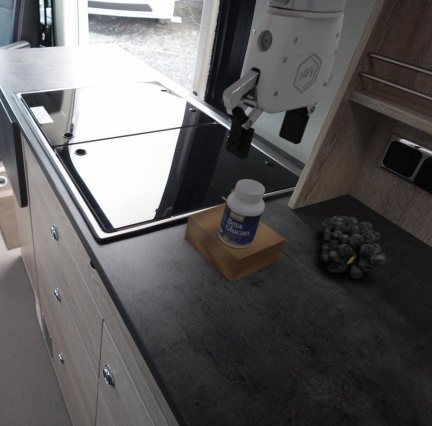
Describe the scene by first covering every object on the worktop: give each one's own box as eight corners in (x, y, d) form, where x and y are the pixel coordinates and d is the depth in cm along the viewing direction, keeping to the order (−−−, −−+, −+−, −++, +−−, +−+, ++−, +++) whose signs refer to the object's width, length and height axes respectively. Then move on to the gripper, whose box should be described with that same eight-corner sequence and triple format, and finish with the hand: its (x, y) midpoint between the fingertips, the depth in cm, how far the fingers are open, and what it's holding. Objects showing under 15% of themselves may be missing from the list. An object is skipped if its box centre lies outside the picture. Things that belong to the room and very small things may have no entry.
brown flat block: (291, 255, 63) (301, 232, 60) (231, 282, 58) (239, 258, 55) (234, 212, 73) (240, 190, 70) (178, 232, 67) (182, 209, 64)
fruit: (337, 185, 65) (354, 236, 53) (381, 206, 64) (408, 263, 53) (304, 219, 70) (313, 273, 58) (344, 240, 70) (361, 298, 58)
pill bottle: (217, 246, 57) (231, 193, 51) (217, 225, 61) (230, 174, 56) (253, 252, 56) (272, 199, 50) (251, 230, 60) (268, 179, 55)
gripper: (277, 5, 33) (234, 174, 43) (390, -1, 40) (330, 146, 50) (219, -5, 38) (193, 148, 48) (328, -9, 45) (285, 125, 55)
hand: (263, 147), depth 49 cm, fingers open, 9 cm apart
